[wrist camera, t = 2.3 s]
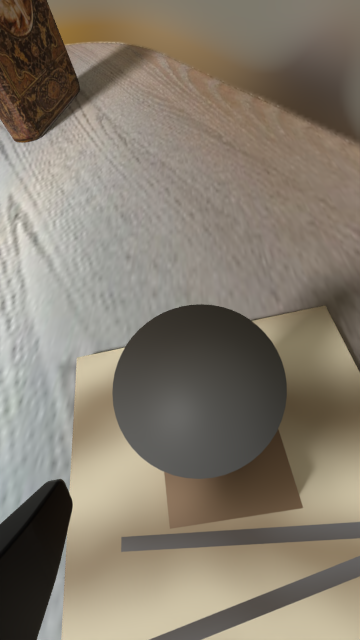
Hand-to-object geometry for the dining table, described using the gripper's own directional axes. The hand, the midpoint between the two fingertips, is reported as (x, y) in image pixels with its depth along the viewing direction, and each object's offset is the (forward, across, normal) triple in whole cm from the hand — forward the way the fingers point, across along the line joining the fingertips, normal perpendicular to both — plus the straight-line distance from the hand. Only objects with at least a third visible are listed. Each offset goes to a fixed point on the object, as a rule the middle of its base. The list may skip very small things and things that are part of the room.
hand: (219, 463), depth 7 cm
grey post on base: (+7, 0, +5) cm, 9 cm away
